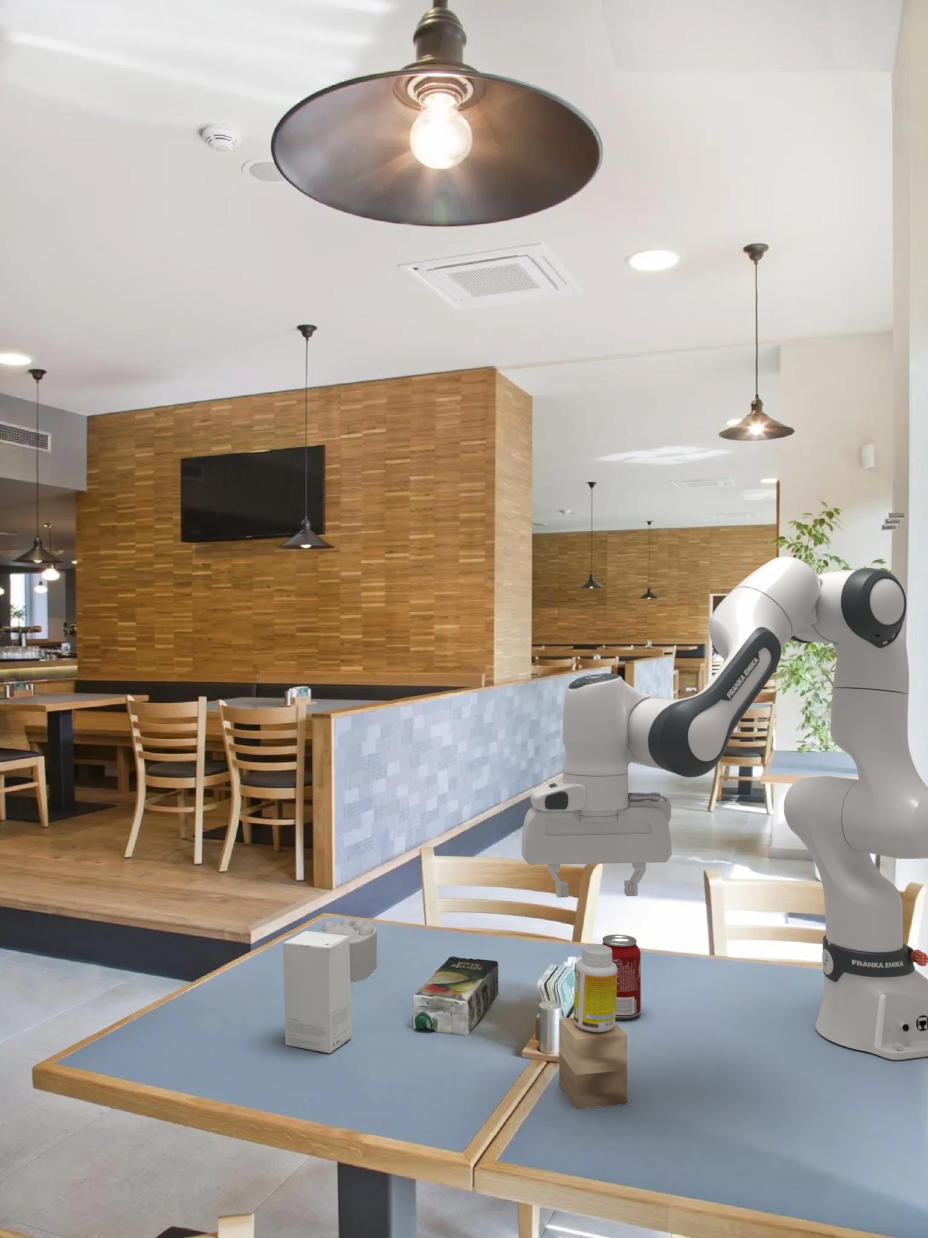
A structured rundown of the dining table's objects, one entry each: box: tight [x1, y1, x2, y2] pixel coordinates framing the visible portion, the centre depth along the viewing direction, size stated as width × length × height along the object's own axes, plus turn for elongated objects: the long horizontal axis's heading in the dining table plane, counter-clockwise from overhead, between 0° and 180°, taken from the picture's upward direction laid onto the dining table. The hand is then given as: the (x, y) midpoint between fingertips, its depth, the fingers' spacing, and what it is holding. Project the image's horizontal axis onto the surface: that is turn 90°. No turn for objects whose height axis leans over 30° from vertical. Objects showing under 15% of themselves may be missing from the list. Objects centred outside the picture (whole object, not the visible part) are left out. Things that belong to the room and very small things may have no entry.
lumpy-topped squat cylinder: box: [318, 917, 378, 983], centre depth 174 cm, size 10×13×9 cm
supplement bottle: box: [573, 943, 617, 1032], centre depth 126 cm, size 6×6×10 cm
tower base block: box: [558, 1052, 628, 1110], centre depth 125 cm, size 7×7×4 cm
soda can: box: [600, 933, 642, 1021], centre depth 153 cm, size 7×7×12 cm
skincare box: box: [282, 930, 353, 1054], centre depth 141 cm, size 8×7×16 cm
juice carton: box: [411, 956, 499, 1036], centre depth 154 cm, size 20×10×6 cm, turn 164°
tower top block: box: [558, 1017, 628, 1075], centre depth 125 cm, size 7×7×4 cm
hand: (596, 896), depth 127 cm, fingers open, 8 cm apart
